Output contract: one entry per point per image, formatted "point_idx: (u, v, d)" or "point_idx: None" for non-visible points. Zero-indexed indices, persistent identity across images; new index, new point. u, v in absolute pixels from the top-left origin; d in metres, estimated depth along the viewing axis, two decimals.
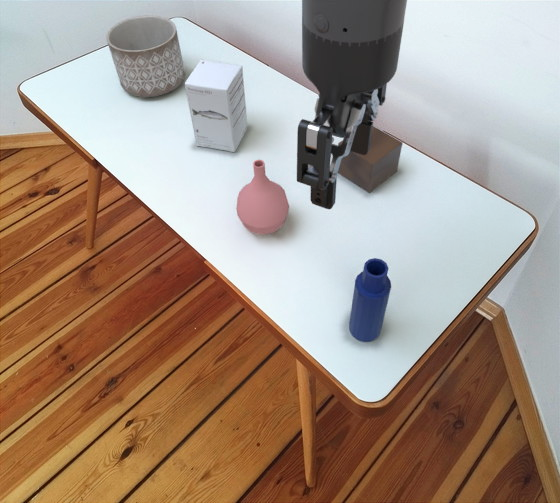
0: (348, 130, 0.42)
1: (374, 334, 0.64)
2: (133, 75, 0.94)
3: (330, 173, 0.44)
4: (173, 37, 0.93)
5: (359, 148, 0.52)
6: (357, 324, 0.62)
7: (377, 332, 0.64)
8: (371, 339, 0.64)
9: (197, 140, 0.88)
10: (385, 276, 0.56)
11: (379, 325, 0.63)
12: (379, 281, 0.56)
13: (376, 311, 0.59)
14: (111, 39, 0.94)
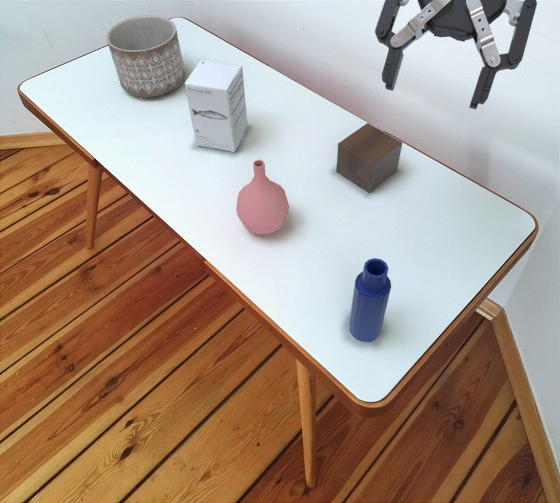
0: None
1: (374, 334, 0.64)
2: (133, 75, 0.94)
3: None
4: (173, 37, 0.93)
5: None
6: (357, 324, 0.62)
7: (377, 332, 0.64)
8: (371, 339, 0.64)
9: (197, 140, 0.88)
10: (385, 276, 0.56)
11: (379, 325, 0.63)
12: (379, 281, 0.56)
13: (376, 311, 0.59)
14: (111, 39, 0.94)
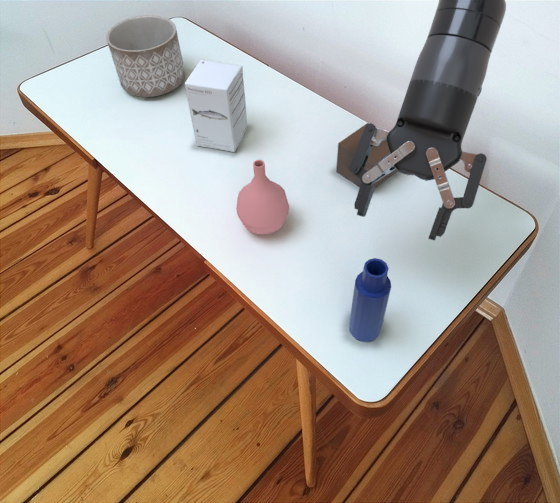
0: (393, 152, 0.58)
1: (374, 334, 0.64)
2: (133, 75, 0.94)
3: (366, 173, 0.59)
4: (173, 37, 0.93)
5: None
6: (357, 324, 0.62)
7: (377, 332, 0.64)
8: (371, 339, 0.64)
9: (197, 140, 0.88)
10: (385, 276, 0.56)
11: (379, 325, 0.63)
12: (379, 281, 0.56)
13: (376, 311, 0.59)
14: (111, 39, 0.94)
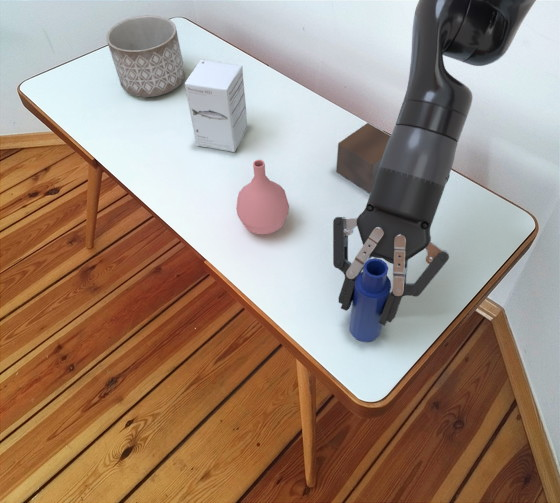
0: None
1: (374, 334, 0.64)
2: (133, 75, 0.94)
3: (348, 269, 0.60)
4: (173, 37, 0.93)
5: None
6: (357, 324, 0.62)
7: (377, 332, 0.64)
8: (371, 339, 0.64)
9: (197, 140, 0.88)
10: (385, 276, 0.56)
11: (379, 325, 0.63)
12: (379, 281, 0.56)
13: (376, 311, 0.59)
14: (111, 39, 0.94)
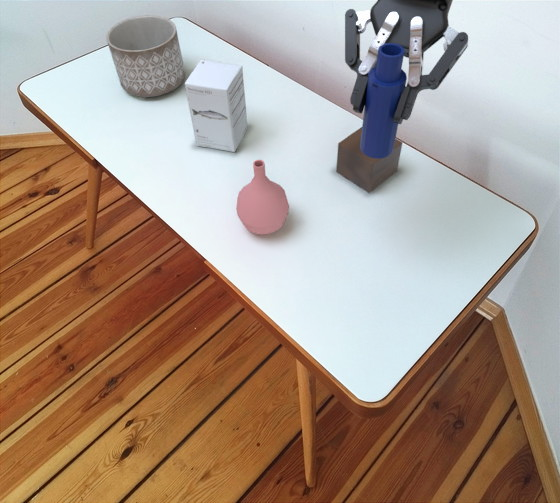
0: None
1: (387, 147, 0.61)
2: (133, 75, 0.94)
3: (360, 65, 0.56)
4: (173, 37, 0.93)
5: None
6: (370, 132, 0.59)
7: (390, 145, 0.61)
8: (384, 155, 0.61)
9: (197, 140, 0.88)
10: (401, 58, 0.53)
11: (392, 134, 0.60)
12: (395, 63, 0.53)
13: (390, 108, 0.56)
14: (111, 39, 0.94)
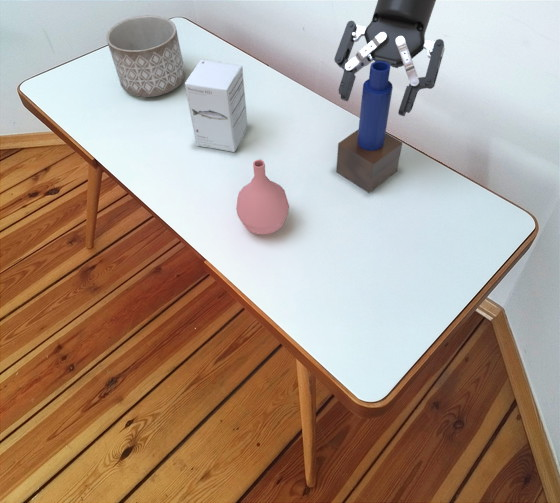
0: None
1: (378, 141, 0.77)
2: (133, 75, 0.94)
3: None
4: (173, 37, 0.93)
5: None
6: (364, 130, 0.76)
7: (381, 140, 0.77)
8: (376, 147, 0.78)
9: (197, 140, 0.88)
10: (388, 72, 0.69)
11: (382, 131, 0.76)
12: (383, 76, 0.69)
13: (380, 111, 0.72)
14: (111, 39, 0.94)
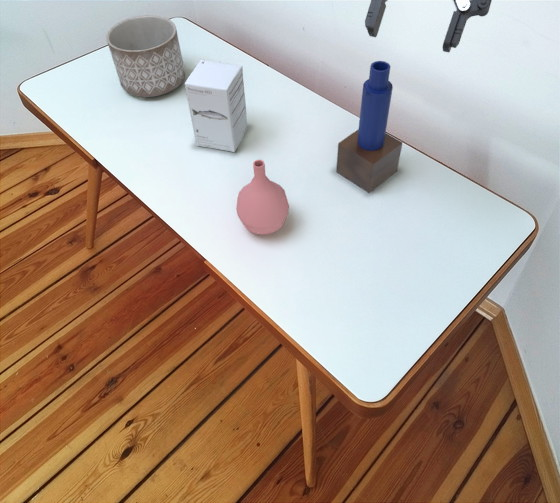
0: None
1: (378, 141, 0.77)
2: (133, 75, 0.94)
3: None
4: (173, 37, 0.93)
5: None
6: (364, 130, 0.76)
7: (381, 140, 0.77)
8: (376, 147, 0.78)
9: (197, 140, 0.88)
10: (388, 72, 0.69)
11: (382, 131, 0.76)
12: (383, 76, 0.69)
13: (380, 111, 0.72)
14: (111, 39, 0.94)
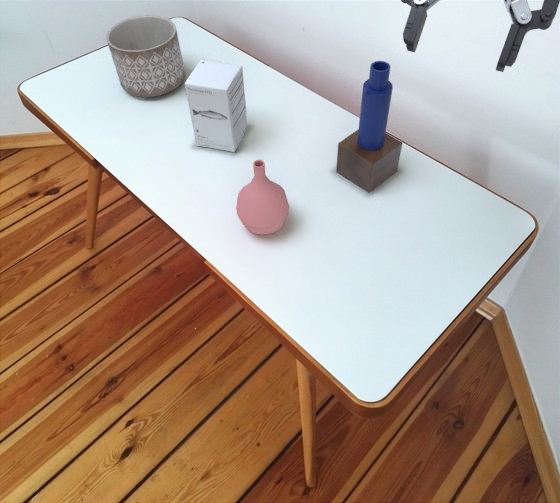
0: None
1: (378, 141, 0.77)
2: (133, 75, 0.94)
3: None
4: (173, 37, 0.93)
5: None
6: (364, 130, 0.76)
7: (381, 140, 0.77)
8: (376, 147, 0.78)
9: (197, 140, 0.88)
10: (388, 72, 0.69)
11: (382, 131, 0.76)
12: (383, 76, 0.69)
13: (380, 111, 0.72)
14: (111, 39, 0.94)
